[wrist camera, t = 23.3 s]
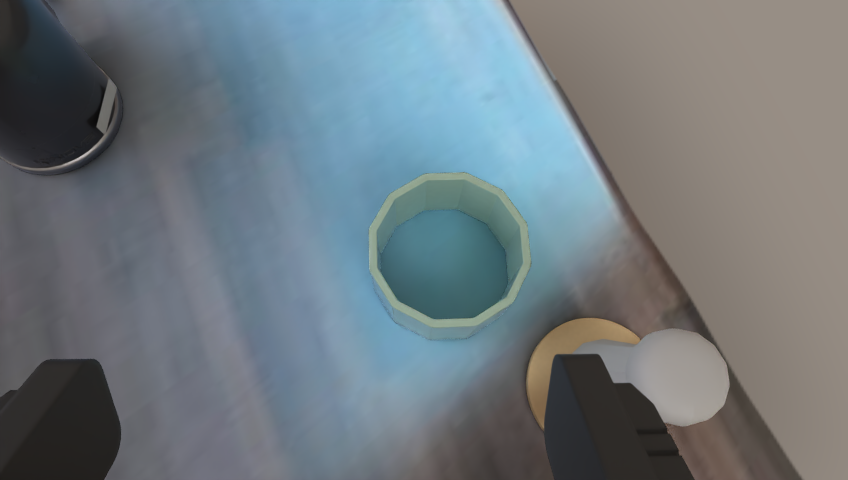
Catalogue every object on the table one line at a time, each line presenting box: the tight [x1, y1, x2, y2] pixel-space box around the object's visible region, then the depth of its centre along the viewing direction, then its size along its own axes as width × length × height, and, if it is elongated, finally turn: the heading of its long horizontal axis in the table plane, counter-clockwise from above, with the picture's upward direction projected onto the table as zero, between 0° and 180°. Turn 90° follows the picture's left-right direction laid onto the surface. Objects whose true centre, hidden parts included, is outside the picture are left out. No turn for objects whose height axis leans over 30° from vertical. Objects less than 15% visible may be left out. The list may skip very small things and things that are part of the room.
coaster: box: [526, 318, 641, 431], centre depth 38 cm, size 9×9×1 cm
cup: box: [369, 172, 531, 340], centre depth 37 cm, size 10×10×6 cm
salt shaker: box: [572, 328, 730, 426], centre depth 31 cm, size 6×6×13 cm
